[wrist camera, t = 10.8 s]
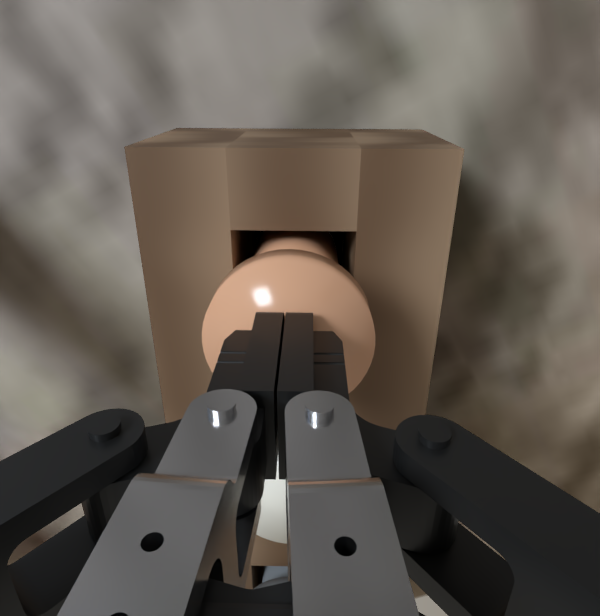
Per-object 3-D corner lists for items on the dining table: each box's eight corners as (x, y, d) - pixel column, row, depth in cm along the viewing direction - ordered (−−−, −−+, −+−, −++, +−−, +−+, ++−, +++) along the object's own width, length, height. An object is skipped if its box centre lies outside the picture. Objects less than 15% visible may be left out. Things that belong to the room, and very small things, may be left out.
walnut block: (422, 129, 19) (464, 149, 14) (376, 549, 30) (390, 652, 25) (176, 128, 19) (124, 147, 14) (219, 545, 30) (199, 646, 25)
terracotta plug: (358, 198, 18) (381, 263, 12) (351, 308, 20) (369, 414, 14) (235, 197, 18) (193, 261, 12) (241, 307, 20) (208, 412, 14)
